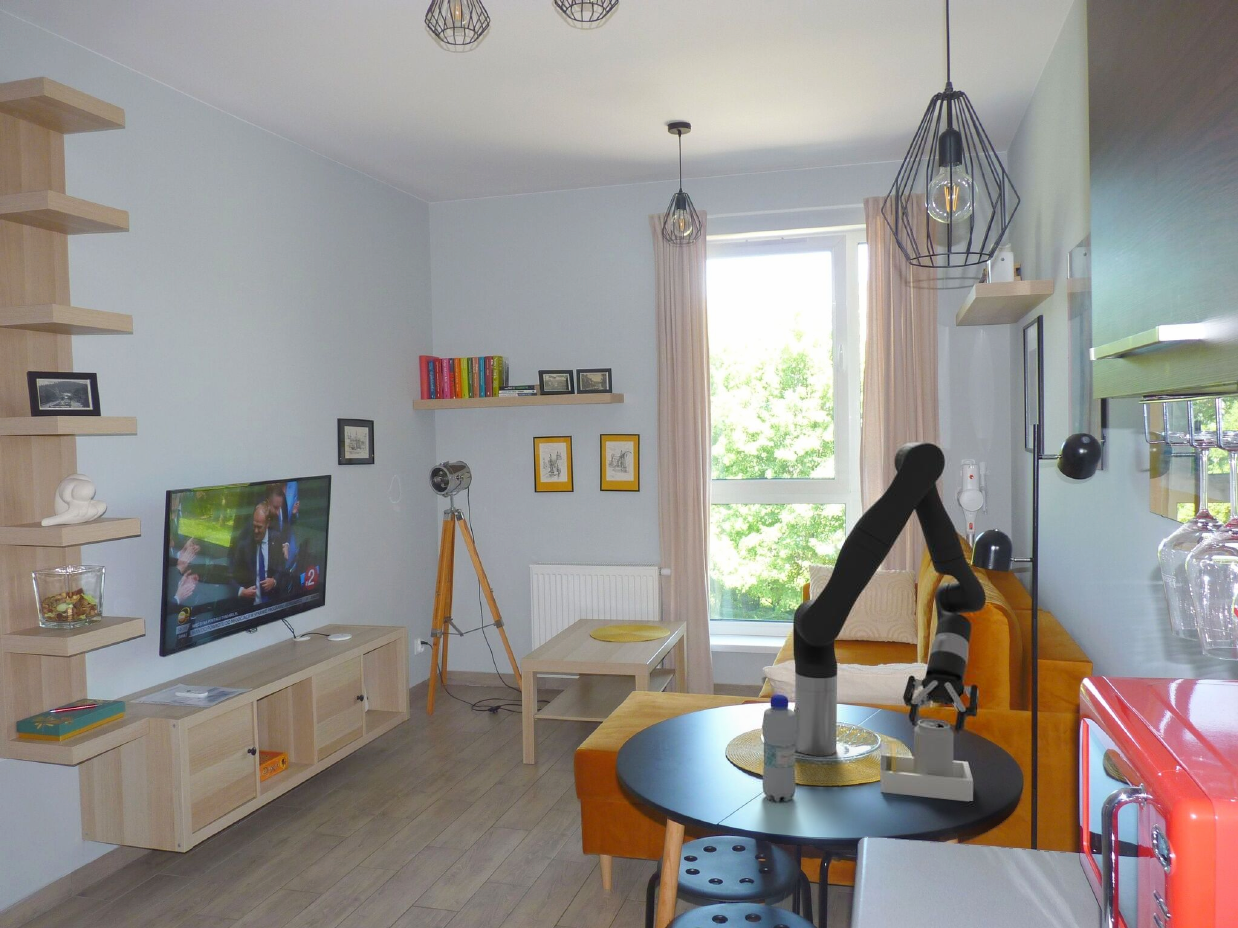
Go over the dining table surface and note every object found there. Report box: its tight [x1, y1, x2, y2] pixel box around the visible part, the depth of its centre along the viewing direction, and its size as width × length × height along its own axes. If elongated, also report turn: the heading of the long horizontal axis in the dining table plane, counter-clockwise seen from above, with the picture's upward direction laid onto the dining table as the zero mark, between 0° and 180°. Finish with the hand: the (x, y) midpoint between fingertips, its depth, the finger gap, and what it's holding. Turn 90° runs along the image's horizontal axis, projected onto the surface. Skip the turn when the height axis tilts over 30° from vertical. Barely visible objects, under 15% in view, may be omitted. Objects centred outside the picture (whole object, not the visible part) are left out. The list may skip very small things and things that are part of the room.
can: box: [913, 718, 955, 777], centre depth 180 cm, size 8×8×12 cm
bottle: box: [761, 694, 797, 803], centre depth 175 cm, size 7×7×20 cm
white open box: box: [880, 740, 974, 802], centre depth 181 cm, size 17×11×7 cm, turn 74°
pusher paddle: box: [890, 743, 898, 772], centre depth 182 cm, size 1×8×6 cm, turn 164°
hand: (935, 727), depth 182 cm, fingers open, 8 cm apart
